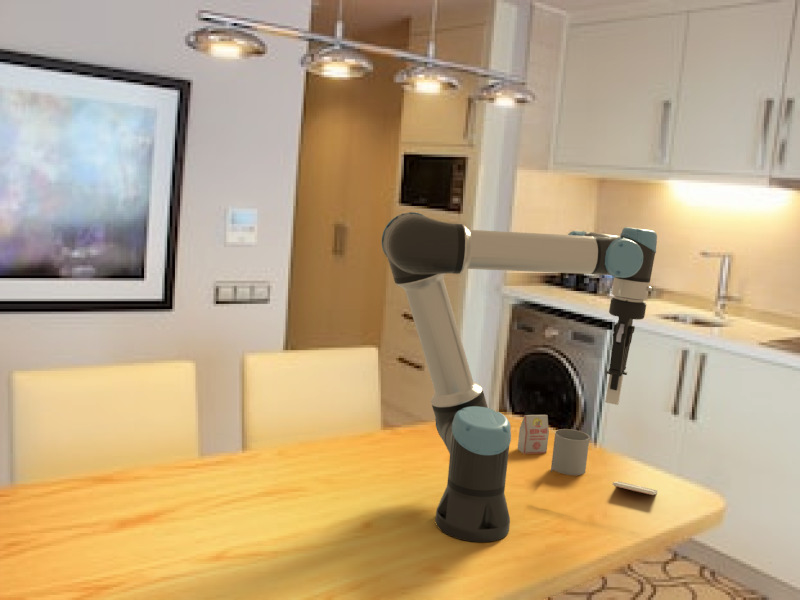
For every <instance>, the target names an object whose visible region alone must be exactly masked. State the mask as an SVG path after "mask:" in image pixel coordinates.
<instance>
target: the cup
mask: <svg viewBox="0 0 800 600" xmlns="http://www.w3.org/2000/svg"><path fill="white" fill-rule="evenodd" d="M553 440H554V441H553V449H552V455H551V458H552V459H551V465H550V466H551V467H550V473H552V472H553V471H555V472H557V473H559V474H562V475H567V476H582V475H583V474H585V473H586V472H587V471H586V469H587V461H588V460H587V459H588V453H589V446H590V445H589V444H590V435H589V434H587V433H586V432H583V431H581V430H577V429H576V430H575V429H568V428H563V429H562V428H561V429H557V430H555V432H554V439H553Z"/></svg>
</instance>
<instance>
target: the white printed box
mask: <svg viewBox="0 0 800 600" xmlns="http://www.w3.org/2000/svg"><path fill="white" fill-rule="evenodd" d="M548 417H549V416H548V414H525V415H523V418H522V422H521V423H520V426H519V431H518V441H517V450H518V451H519V452H521V454H523V455H529V454H530V455H531V454H547V452H548V445H549V444H548V442H549V432H550V430H549V418H548Z"/></svg>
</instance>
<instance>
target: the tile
mask: <svg viewBox="0 0 800 600" xmlns="http://www.w3.org/2000/svg"><path fill="white" fill-rule="evenodd" d="M612 486H613V487H617V488H621V489H625V490H628V491H629V490H630V491H632V492H637V493H641V494H642V493H643V494H646V495H651V496H654V495H657V494H658V490H656V489H654V488H653V489H652V488H648V487H646V486H640V485H637V484H630V483H627V482H623V481H612Z"/></svg>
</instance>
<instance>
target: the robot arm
mask: <svg viewBox="0 0 800 600" xmlns="http://www.w3.org/2000/svg"><path fill="white" fill-rule="evenodd" d="M657 243H658V234H657V232H656V231H654V230H651V229H644V228H638V227H637V228H636V227H628V226H627V227H626V226H625V227H623V228H622V230H621V233H620V234H617V235H616V234H615V235H613V234H606V233H599V232H590V231H585V230H583V231H579V230H572V231H570V232H569V233H567V234H555V233H535V232H518V231H516V232H515V231H499V230H497V231H496V230H482V229H481V230H479V229H478V230H477V229H469V228H467V227H466V225H465V224H464V223H463V224H462V223H450V222H446V221H445V222H444V221H439V220H436V219H435V218H430V217H428V216H425V215H424V214H421V213H419V212H412V211H411V212H405V213H404V212H403V213H401V214H398V215H396V216H395V217H393V218H392V219H391V220H390V221H389V222H388V223H387V224H386V226H385V227H384V229H383V232H382V235H381V248H382V252H383V254H384V255H385V257H386V258H387V261H388V263H389V267H390V270H391V274H392V277H393V281H394V284H395V285H396V286H398V287H400V288H401V289H403V290H404V292H405V295H406V298H407V302H408V304H409V305H408V306H409V309H410V311H411V316H412V319H413V321H414V325H415V329H416V332H417V336H418V339H419V342H420V345H421V346H420V347H421V349H422V352H423V356H424V359H425V363H426V366H427V369H428V373H429V376H430V379H431V382H432V386H433V390H434V394H433V395H432V397H431V399H430V403H431V407H432V411H433V413H434V418H435V419H434V420H435V427H436V430H437V433H438V435H439V437H440V438H441V440H442V442H443V443H444V445H445V448H446V449H447V452H448V453H449V463H448V471H447V483H446V487H445V489H444V492H443V494H442V496H441V498H440V501H439V503H438V505H437V507H436V511H435V517H434V518H435V520H434V521H435V522H436V523H435V525H436V524H437V525H436V527H437V526H438V527H439V528H440V529H441V530H442V531H441V530H440V529H439V528H438V527H437V528H438V529H439V530H440V531H441V532H443V533H444V532H445V533H444V534H446V535H448V536H450V537H452V536H453V537H452V538H455V537H456V538H455V539H458V540H462V541H468V542H472V543H473V542H475V543H487V542H488V543H489V542H495V541H499V540H501V539H503V538H505V537H506V536H507V535H508V534H509V532H510V524H511V519H510V518H511V517H510V513H509V509H508V503H507V499H506V495H505V490H506V489H505V488H506V479H507V473H508V472H507V471H508V461H509V453H510V445H511V441H512V432H511V428H512V427H511V423H510V420H509V419H508V418H507V416H505V415H504V414H503V413H501V412H500V411H496V410H495V409H493V408H490V407H488V404H487V400H486V396H485V393H484V389H483V387H482V386H481V384H478V383H477V382H476V381H474V380H473V377H472V373H471V369H470V366H469V362H468V359H467V355H466V352H465V349H464V345H463V342H462V338H461V335H460V331H459V328H458V327H459V326H458V324H457V321H456V317H455V313H454V310H453V306H452V303H451V300H450V299H451V298H450V296H449V293H448V289H447V286H446V282H445V276H446V274H453V275H454V274H456V275H459V274H461V275H462V274H463V273H464V271H466V270H483V271H484V270H486V271H489V270H490V271H510V272H516V271H517V272H531V273H532V272H535V273H536V272H538V273H558V274H560V273H562V274H583V275H584V274H586V275H599V276H600V275H601V276H612V277H613V284H612V289H611V295H612V296H613V297H611V299H610V302H609V303H610V304H609V308H608V310H609V311H608V313H609V314H610V315H611V316H613V317H618V320H617V322H616V323H615V324H614V325H613V330H612V331H613V333H612V345H611V346H612V347H611V351H610V353H611V354H610V361H609V368H608V370H607V371H606V374H607V375H609V378H608V383H607V389H606V394H605V395H606V396H605V403H608V404H612V405H616V406H618V405H619V403H620V398H621V392H622V386H623V380H624V379H623V378H624V376H628V371H626V369H627V362H628V356H629V352H630V346H631V344H632V340H633V334H634V333H635V328H636V326H635V325H633V321H634V320H637V321H638V320H643V319H644V318H645V316H646V309H647V303H646V302H645V301H646V300H648V295H649V292H652V290H653V287H652V286H649V285H650V284H651V277H652V273H653V267H654V262H655V257H656V254H657Z"/></svg>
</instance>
